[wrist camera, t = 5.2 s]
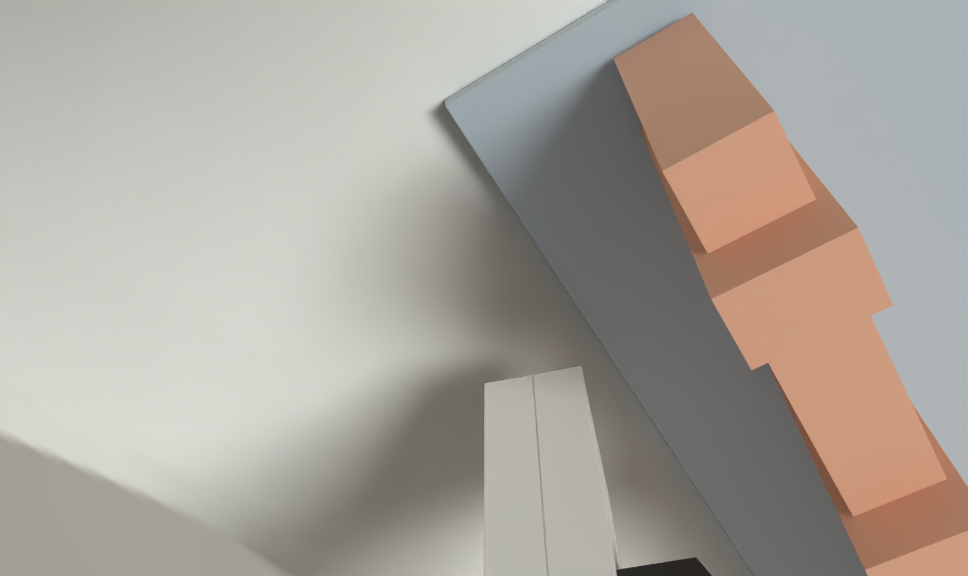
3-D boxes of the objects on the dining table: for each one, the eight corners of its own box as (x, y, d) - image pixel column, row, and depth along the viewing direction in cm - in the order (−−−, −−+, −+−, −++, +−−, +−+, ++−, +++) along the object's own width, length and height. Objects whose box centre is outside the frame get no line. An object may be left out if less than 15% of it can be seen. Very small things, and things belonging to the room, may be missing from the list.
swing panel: (965, 552, 17) (1117, 801, 13) (889, 581, 18) (1013, 831, 13) (703, 6, 12) (814, 132, 8) (604, 64, 13) (661, 212, 8)
